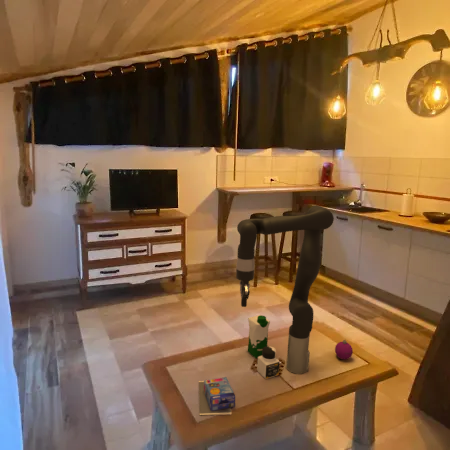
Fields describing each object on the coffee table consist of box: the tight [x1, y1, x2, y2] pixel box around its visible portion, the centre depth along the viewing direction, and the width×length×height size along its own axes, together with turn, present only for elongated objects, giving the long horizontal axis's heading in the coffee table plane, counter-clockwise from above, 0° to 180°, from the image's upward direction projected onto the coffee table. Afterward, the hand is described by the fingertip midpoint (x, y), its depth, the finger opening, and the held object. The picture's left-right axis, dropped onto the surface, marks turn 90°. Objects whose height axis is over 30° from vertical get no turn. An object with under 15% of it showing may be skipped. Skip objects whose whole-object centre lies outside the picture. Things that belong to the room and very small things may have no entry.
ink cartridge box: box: [203, 376, 236, 411], centre depth 145 cm, size 10×6×14 cm
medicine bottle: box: [256, 345, 280, 380], centre depth 164 cm, size 7×7×12 cm
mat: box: [198, 380, 232, 417], centre depth 148 cm, size 12×20×1 cm, turn 5°
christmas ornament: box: [334, 339, 354, 360], centre depth 178 cm, size 8×8×10 cm
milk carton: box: [247, 314, 271, 359], centre depth 179 cm, size 9×9×20 cm
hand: (243, 306), depth 158 cm, fingers closed
